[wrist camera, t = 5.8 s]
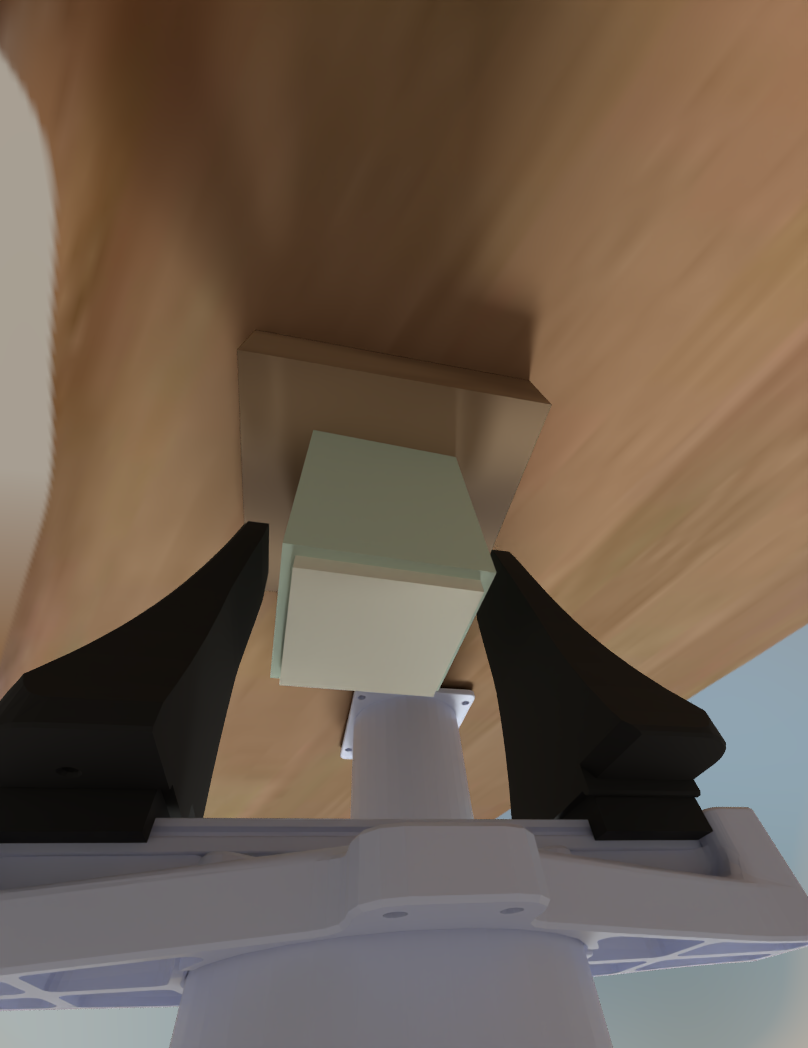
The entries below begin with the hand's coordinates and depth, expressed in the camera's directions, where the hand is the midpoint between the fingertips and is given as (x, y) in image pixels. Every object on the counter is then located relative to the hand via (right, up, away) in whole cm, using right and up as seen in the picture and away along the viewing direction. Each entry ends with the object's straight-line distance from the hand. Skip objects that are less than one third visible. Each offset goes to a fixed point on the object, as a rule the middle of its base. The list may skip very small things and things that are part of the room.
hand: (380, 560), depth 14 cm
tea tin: (0, +2, +2) cm, 3 cm away
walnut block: (0, +4, +5) cm, 6 cm away
